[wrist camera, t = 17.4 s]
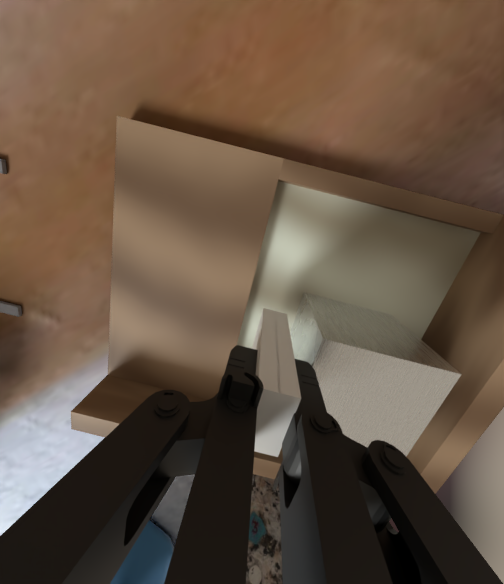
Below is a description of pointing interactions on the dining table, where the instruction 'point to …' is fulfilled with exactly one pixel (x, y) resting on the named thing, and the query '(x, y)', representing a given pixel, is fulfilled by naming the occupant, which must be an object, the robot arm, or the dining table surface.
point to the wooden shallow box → (288, 277)
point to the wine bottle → (147, 558)
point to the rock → (264, 534)
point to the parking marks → (3, 306)
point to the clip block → (371, 371)
